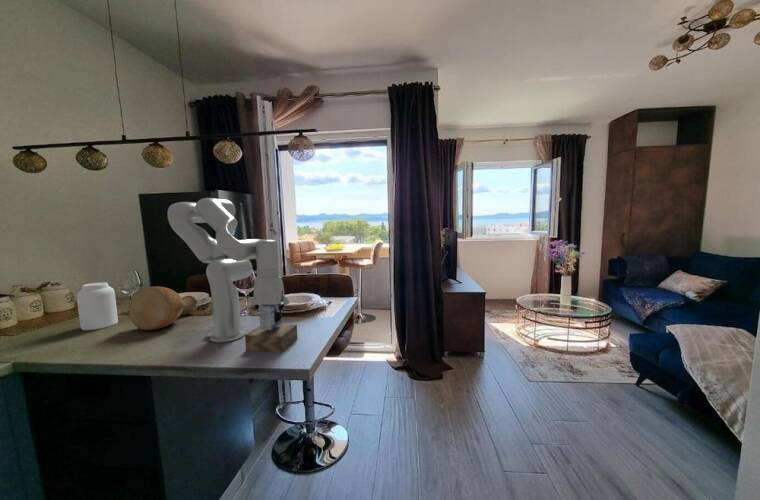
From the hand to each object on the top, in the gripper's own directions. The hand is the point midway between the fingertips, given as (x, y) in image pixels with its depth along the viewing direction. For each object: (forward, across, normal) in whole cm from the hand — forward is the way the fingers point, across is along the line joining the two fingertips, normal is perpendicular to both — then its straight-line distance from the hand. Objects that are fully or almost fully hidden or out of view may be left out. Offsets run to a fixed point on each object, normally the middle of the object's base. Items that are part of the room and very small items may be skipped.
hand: (271, 320), depth 106 cm
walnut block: (+9, 0, 0) cm, 9 cm away
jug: (+10, -61, +20) cm, 65 cm away
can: (+10, -92, +15) cm, 93 cm away
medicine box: (+2, 0, 0) cm, 2 cm away
